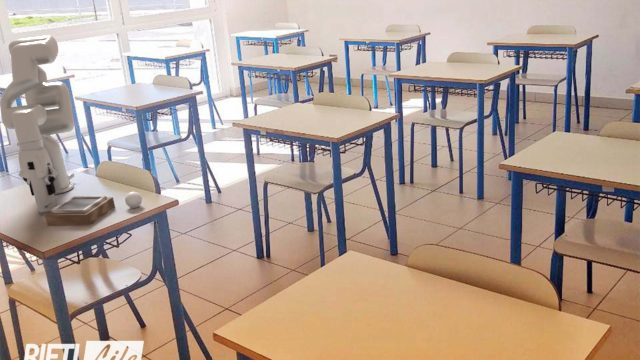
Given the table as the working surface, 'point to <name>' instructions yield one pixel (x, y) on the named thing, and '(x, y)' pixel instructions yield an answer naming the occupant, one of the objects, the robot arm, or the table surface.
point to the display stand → (80, 211)
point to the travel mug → (41, 192)
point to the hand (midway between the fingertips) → (43, 193)
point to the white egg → (133, 199)
